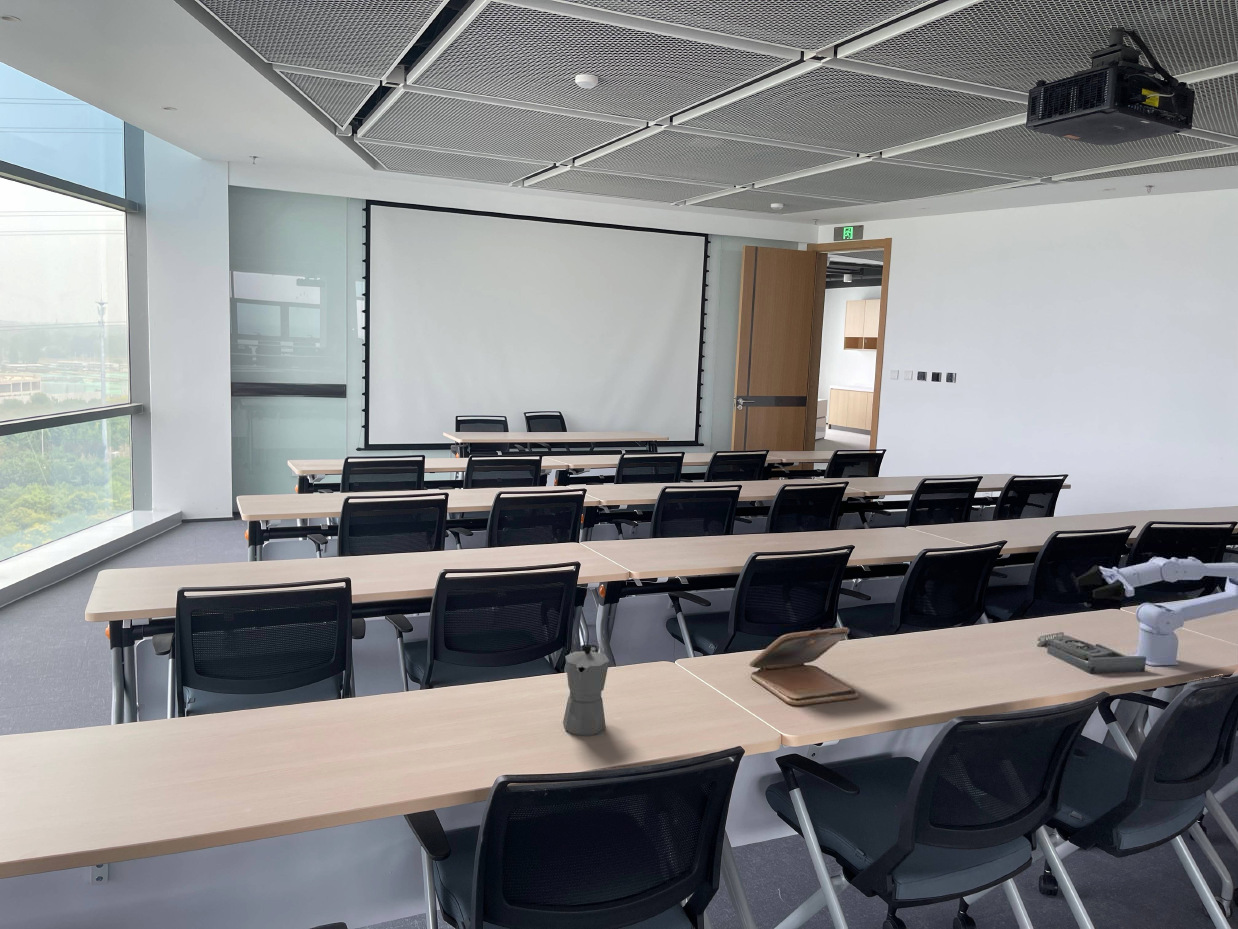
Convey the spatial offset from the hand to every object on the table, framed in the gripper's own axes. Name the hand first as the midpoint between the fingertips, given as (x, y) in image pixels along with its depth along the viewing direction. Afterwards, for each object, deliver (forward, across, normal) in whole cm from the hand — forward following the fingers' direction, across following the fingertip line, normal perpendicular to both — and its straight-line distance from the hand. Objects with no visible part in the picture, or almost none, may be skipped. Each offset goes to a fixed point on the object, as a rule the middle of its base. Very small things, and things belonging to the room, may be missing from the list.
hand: (1085, 588), depth 231 cm
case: (+88, +27, -9) cm, 92 cm away
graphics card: (+4, -1, +21) cm, 22 cm away
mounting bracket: (+2, +8, +20) cm, 21 cm away
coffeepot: (+139, +49, -29) cm, 150 cm away
